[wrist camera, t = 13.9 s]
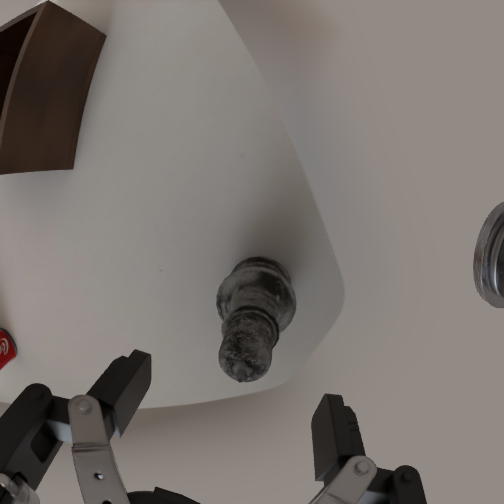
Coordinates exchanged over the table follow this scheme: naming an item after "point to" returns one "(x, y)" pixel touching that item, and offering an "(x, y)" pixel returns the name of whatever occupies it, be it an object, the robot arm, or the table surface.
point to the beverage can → (6, 349)
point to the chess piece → (253, 316)
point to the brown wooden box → (44, 87)
